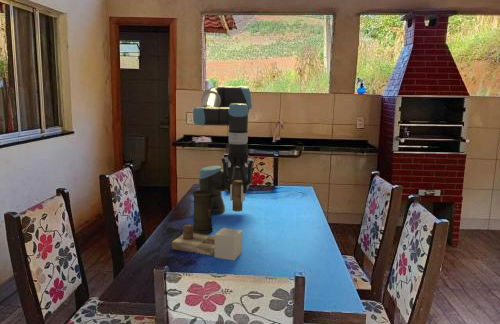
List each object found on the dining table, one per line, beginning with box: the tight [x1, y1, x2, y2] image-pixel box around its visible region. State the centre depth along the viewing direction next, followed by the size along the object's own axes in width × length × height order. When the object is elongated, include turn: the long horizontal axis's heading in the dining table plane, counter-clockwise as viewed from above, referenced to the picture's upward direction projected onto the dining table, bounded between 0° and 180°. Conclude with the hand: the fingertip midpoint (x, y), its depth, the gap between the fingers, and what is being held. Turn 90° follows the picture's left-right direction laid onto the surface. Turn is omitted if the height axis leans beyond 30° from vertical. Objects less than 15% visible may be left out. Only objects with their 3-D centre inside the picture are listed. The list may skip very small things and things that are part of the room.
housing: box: [214, 227, 243, 261], centre depth 149 cm, size 8×8×9 cm
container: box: [192, 189, 214, 235], centre depth 174 cm, size 9×9×18 cm
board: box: [171, 224, 215, 257], centre depth 157 cm, size 12×18×8 cm, turn 70°
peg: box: [232, 180, 243, 213], centre depth 158 cm, size 4×4×12 cm
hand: (237, 200), depth 158 cm, fingers closed on peg, 4 cm apart
